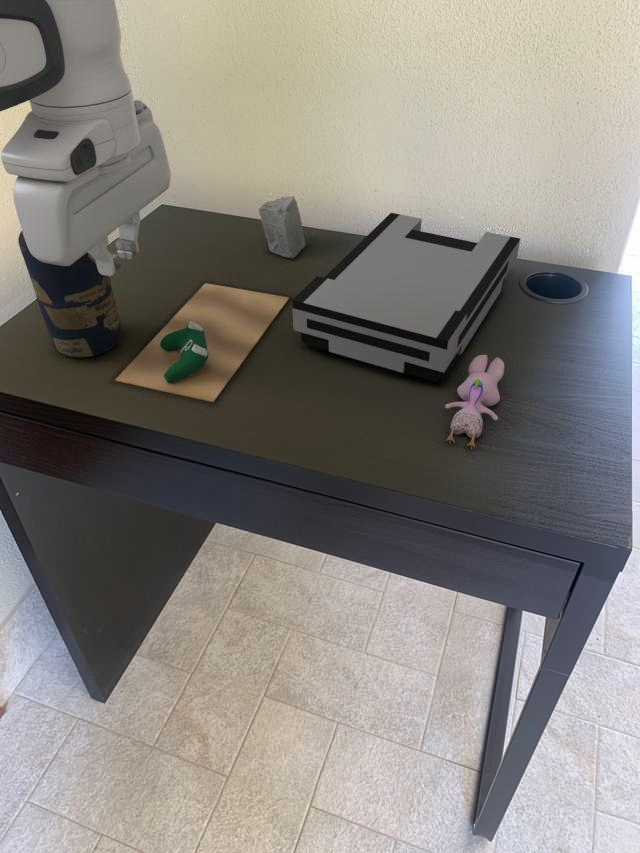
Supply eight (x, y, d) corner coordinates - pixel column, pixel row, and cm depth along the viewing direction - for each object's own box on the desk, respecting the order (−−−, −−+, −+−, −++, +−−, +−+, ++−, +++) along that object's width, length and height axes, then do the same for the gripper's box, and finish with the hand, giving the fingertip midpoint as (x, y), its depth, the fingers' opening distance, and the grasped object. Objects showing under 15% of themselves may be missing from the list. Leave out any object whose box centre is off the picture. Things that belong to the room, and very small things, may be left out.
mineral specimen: (310, 232, 118) (308, 192, 111) (298, 265, 113) (295, 225, 106) (269, 227, 119) (264, 187, 112) (255, 260, 114) (250, 219, 107)
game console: (512, 280, 106) (522, 230, 100) (440, 396, 85) (448, 341, 79) (388, 252, 113) (391, 205, 108) (294, 353, 92) (292, 299, 87)
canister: (115, 363, 91) (81, 236, 79) (44, 363, 91) (0, 237, 79) (131, 323, 98) (102, 202, 86) (65, 324, 98) (28, 203, 86)
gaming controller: (185, 395, 88) (215, 363, 86) (161, 381, 86) (191, 348, 84) (180, 354, 95) (207, 325, 93) (157, 341, 92) (184, 310, 90)
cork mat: (213, 402, 84) (213, 401, 84) (115, 381, 88) (114, 379, 88) (289, 298, 103) (289, 297, 102) (205, 284, 106) (205, 283, 106)
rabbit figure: (486, 461, 78) (514, 371, 86) (492, 427, 73) (521, 336, 82) (433, 447, 80) (466, 360, 88) (435, 413, 75) (470, 326, 84)
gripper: (119, 91, 70) (144, 219, 80) (-15, 161, 56) (34, 307, 65) (173, 96, 69) (192, 226, 78) (50, 170, 54) (91, 318, 64)
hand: (120, 264), depth 71 cm, fingers closed
